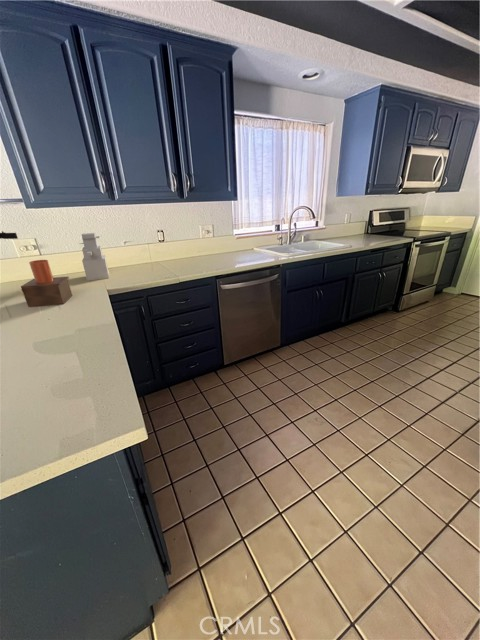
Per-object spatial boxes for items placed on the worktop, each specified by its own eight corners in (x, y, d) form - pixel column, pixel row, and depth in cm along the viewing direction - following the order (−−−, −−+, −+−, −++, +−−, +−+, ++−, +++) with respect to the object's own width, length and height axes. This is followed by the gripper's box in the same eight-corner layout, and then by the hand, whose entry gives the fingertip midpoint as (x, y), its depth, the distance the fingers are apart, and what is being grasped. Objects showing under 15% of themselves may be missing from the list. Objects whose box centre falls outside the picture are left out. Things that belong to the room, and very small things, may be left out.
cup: (35, 284, 128) (28, 263, 124) (37, 280, 134) (30, 260, 130) (53, 282, 131) (46, 261, 127) (54, 278, 137) (48, 259, 133)
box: (72, 295, 145) (67, 278, 140) (63, 304, 133) (57, 285, 128) (40, 298, 141) (34, 280, 137) (28, 307, 129) (21, 288, 125)
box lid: (69, 278, 141) (68, 276, 140) (59, 285, 129) (59, 283, 128) (34, 280, 137) (33, 278, 137) (21, 288, 125) (20, 286, 125)
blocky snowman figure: (109, 271, 191) (100, 231, 180) (108, 280, 172) (98, 235, 160) (89, 273, 187) (78, 232, 175) (86, 282, 167) (74, 236, 155)
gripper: (-15, 242, 135) (27, 241, 136) (-65, 251, 113) (-15, 250, 113) (-21, 227, 132) (22, 226, 132) (-74, 232, 110) (-22, 232, 110)
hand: (5, 237), depth 123 cm, fingers open, 13 cm apart
